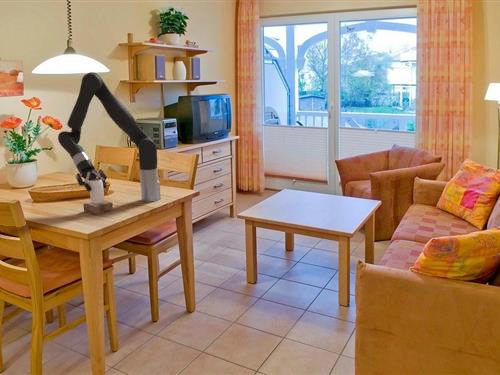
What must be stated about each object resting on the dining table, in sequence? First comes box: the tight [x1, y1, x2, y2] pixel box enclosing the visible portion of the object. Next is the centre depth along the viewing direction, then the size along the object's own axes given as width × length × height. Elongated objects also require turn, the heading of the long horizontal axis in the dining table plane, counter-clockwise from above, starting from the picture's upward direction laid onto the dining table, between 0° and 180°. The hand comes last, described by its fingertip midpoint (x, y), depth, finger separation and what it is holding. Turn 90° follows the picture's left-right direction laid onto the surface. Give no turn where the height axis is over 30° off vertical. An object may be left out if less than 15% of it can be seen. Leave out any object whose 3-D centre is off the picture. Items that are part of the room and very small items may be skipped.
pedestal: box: [83, 200, 114, 216], centre depth 240 cm, size 10×10×4 cm
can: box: [88, 177, 105, 204], centre depth 238 cm, size 6×6×12 cm
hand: (98, 189), depth 237 cm, fingers open, 8 cm apart
